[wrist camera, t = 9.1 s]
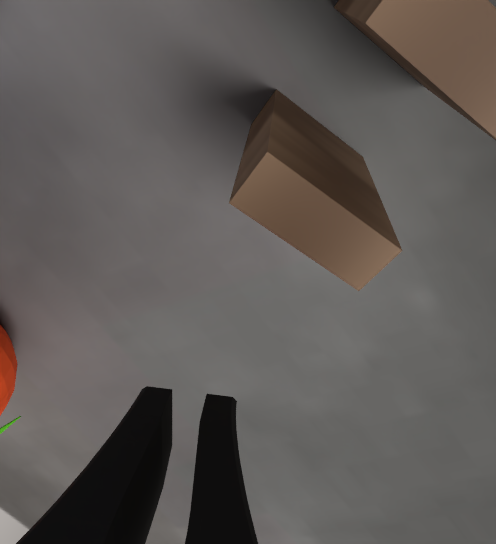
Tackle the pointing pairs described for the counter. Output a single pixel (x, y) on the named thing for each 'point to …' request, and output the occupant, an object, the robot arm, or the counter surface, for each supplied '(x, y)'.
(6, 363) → the clementine
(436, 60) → the domino
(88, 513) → the robot arm
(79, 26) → the counter surface
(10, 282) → the counter surface
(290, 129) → the domino
